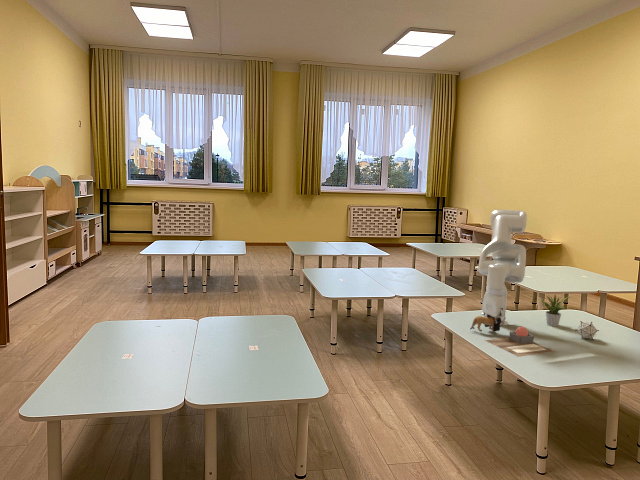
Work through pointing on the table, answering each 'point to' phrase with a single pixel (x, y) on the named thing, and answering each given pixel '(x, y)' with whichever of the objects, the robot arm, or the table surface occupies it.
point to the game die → (586, 330)
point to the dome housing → (521, 338)
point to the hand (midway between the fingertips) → (492, 328)
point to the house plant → (553, 311)
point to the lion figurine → (484, 322)
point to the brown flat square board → (519, 347)
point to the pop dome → (521, 331)
